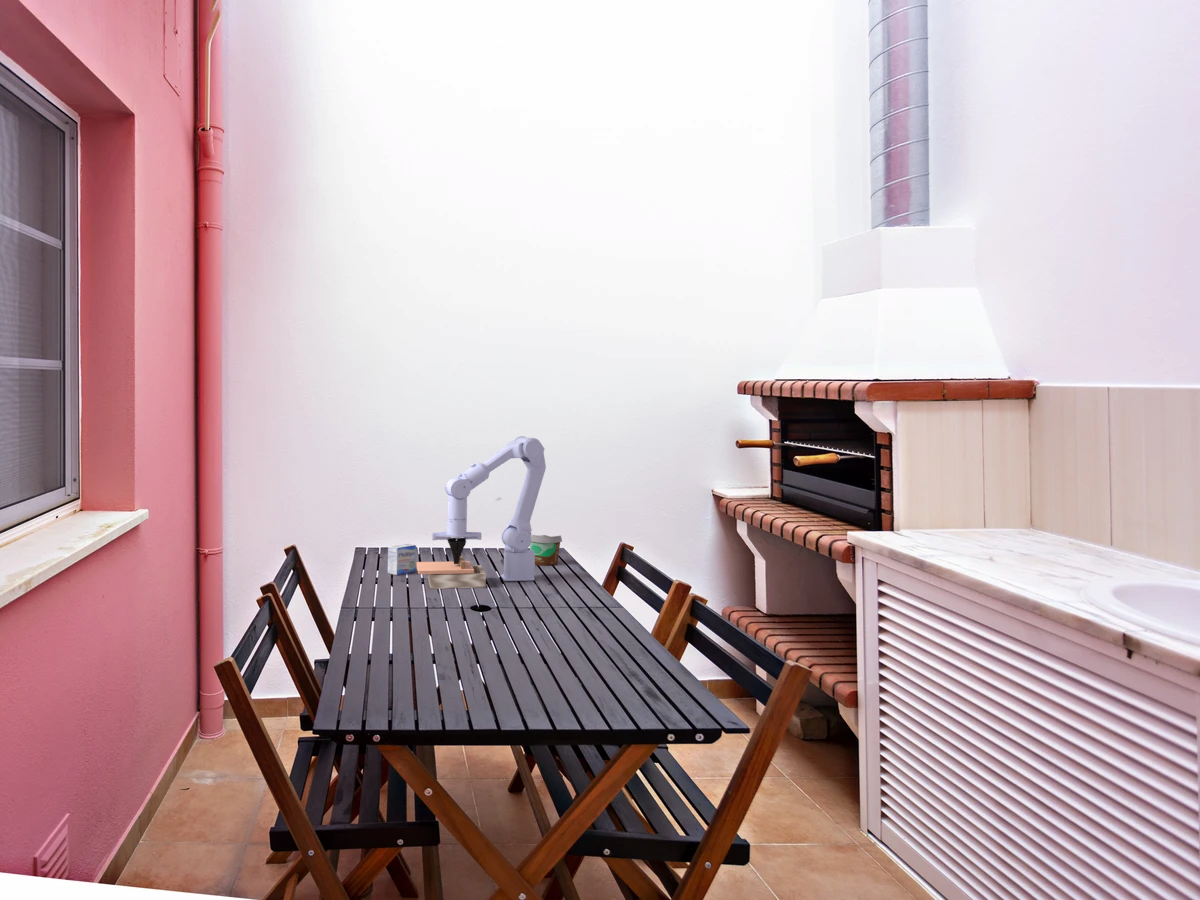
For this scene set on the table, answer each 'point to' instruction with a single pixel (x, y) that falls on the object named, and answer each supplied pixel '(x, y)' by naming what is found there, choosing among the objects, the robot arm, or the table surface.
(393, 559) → the medicine box
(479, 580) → the storage case
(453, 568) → the sliding lid
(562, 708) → the table surface
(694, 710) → the table surface
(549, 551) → the food container
